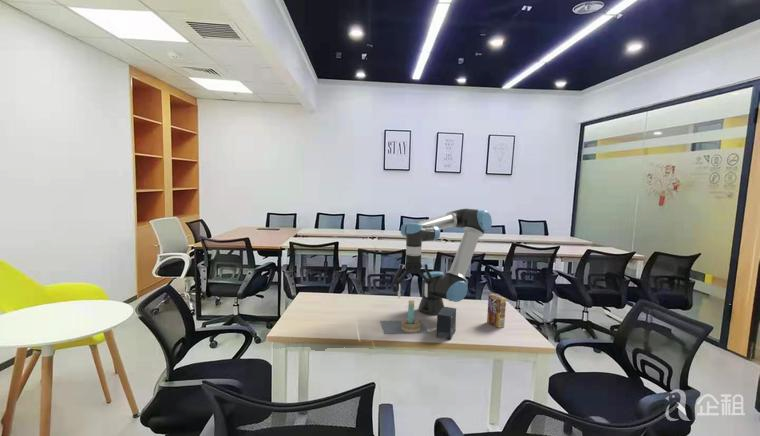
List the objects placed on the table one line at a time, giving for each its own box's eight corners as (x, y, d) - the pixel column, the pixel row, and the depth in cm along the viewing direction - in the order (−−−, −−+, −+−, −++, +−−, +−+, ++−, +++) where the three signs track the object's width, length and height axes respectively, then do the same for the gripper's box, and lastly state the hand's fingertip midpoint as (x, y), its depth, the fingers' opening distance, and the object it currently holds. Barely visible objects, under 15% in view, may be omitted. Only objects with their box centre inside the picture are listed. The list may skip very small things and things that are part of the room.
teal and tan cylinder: (412, 327, 176) (413, 300, 175) (413, 329, 173) (414, 302, 172) (407, 327, 175) (408, 300, 174) (408, 329, 173) (409, 302, 172)
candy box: (505, 327, 182) (506, 298, 181) (498, 328, 180) (500, 299, 179) (492, 321, 190) (494, 293, 189) (486, 322, 188) (488, 294, 187)
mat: (420, 321, 186) (420, 320, 186) (429, 334, 169) (429, 333, 169) (379, 322, 183) (379, 320, 183) (384, 335, 167) (384, 334, 166)
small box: (442, 329, 177) (443, 305, 176) (455, 331, 174) (456, 308, 173) (435, 338, 165) (437, 313, 164) (450, 341, 162) (451, 316, 161)
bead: (417, 325, 179) (417, 319, 179) (421, 332, 170) (422, 326, 170) (399, 325, 178) (400, 319, 178) (403, 332, 169) (403, 326, 169)
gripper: (436, 252, 177) (434, 293, 179) (387, 253, 174) (386, 295, 175) (440, 255, 169) (439, 298, 171) (389, 256, 166) (388, 299, 168)
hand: (412, 296), depth 173 cm, fingers open, 13 cm apart
